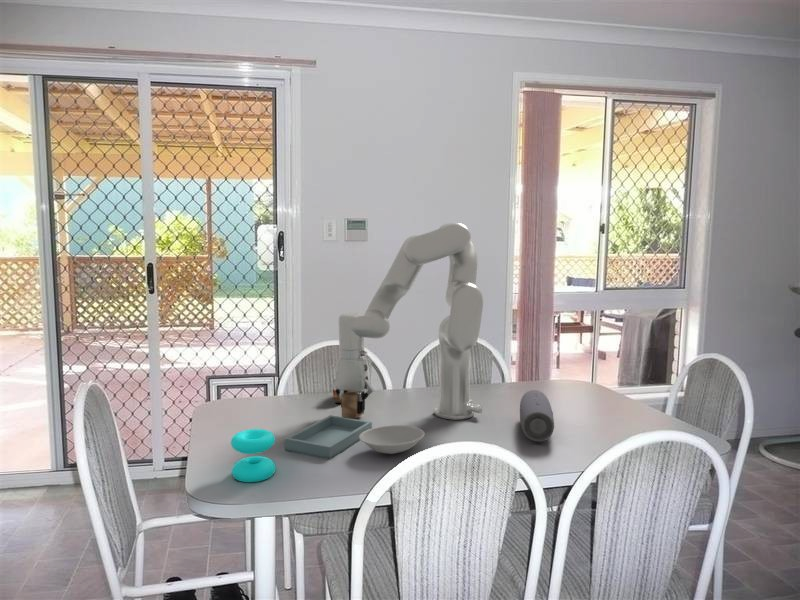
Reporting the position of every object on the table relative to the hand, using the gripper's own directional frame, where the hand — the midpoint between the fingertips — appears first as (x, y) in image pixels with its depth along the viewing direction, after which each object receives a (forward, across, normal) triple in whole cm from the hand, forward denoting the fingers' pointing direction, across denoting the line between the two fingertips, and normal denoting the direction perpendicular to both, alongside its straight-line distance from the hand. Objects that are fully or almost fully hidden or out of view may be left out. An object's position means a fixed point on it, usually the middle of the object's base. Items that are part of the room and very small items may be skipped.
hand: (352, 411), depth 180 cm
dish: (+3, -24, +20) cm, 31 cm away
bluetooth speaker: (+3, -54, -13) cm, 55 cm away
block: (+1, 0, 0) cm, 1 cm away
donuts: (+2, -1, +47) cm, 47 cm away
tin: (+2, +13, -16) cm, 21 cm away
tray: (+2, -5, +20) cm, 21 cm away
